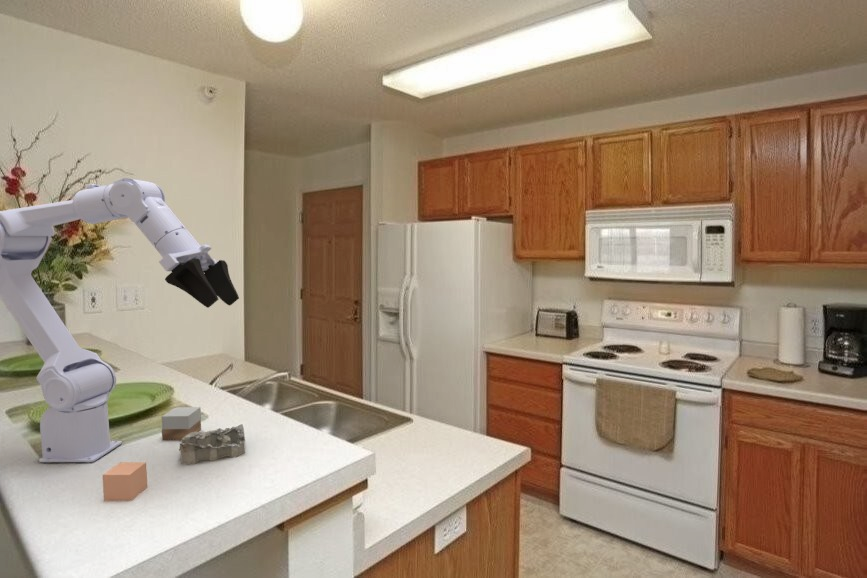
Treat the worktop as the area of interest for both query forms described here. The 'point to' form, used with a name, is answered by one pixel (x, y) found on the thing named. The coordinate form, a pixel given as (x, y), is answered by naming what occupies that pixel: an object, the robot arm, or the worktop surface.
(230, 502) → the worktop surface
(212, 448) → the egg carton
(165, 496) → the worktop surface
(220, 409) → the worktop surface
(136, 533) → the worktop surface
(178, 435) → the tower base
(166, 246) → the robot arm
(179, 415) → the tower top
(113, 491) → the terracotta cube
